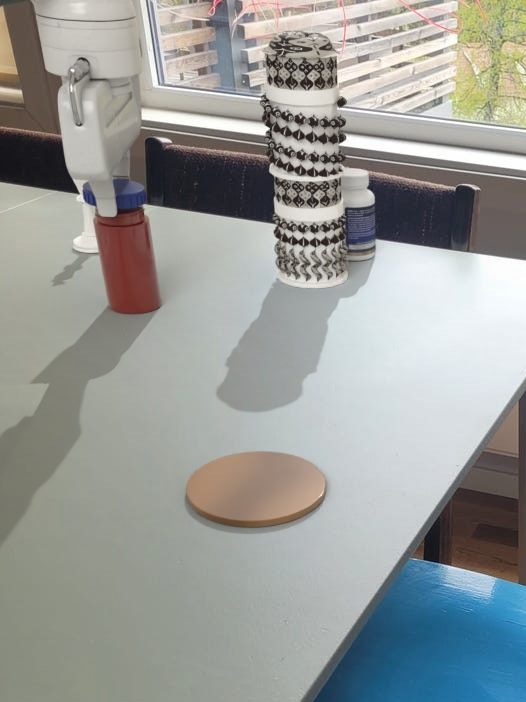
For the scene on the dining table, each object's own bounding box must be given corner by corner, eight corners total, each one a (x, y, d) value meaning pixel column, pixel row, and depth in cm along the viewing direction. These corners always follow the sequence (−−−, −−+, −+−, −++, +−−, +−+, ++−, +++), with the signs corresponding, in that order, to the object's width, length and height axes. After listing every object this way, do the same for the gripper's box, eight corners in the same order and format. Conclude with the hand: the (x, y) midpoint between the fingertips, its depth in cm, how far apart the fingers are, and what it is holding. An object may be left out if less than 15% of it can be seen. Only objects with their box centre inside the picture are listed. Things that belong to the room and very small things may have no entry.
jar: (104, 313, 107) (85, 214, 100) (113, 294, 111) (96, 198, 105) (157, 314, 107) (142, 215, 101) (165, 295, 112) (151, 200, 105)
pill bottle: (383, 252, 127) (383, 170, 121) (362, 264, 123) (360, 180, 117) (347, 245, 128) (344, 163, 122) (324, 256, 125) (321, 173, 118)
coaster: (178, 528, 75) (177, 521, 75) (195, 457, 84) (194, 451, 83) (324, 526, 77) (324, 520, 76) (327, 457, 85) (327, 450, 85)
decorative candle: (304, 257, 124) (290, 24, 108) (366, 273, 121) (361, 35, 105) (257, 278, 117) (236, 33, 102) (322, 295, 114) (310, 44, 98)
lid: (154, 197, 105) (153, 183, 104) (134, 212, 100) (132, 197, 99) (97, 190, 105) (95, 175, 104) (74, 204, 100) (72, 189, 99)
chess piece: (92, 255, 120) (75, 167, 114) (64, 247, 122) (46, 159, 116) (123, 246, 124) (109, 159, 117) (95, 237, 125) (80, 151, 119)
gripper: (105, 72, 86) (130, 236, 95) (143, 35, 102) (161, 179, 111) (29, 68, 85) (61, 234, 94) (79, 31, 101) (103, 176, 110)
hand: (116, 204), depth 102 cm, fingers closed on lid, 6 cm apart
